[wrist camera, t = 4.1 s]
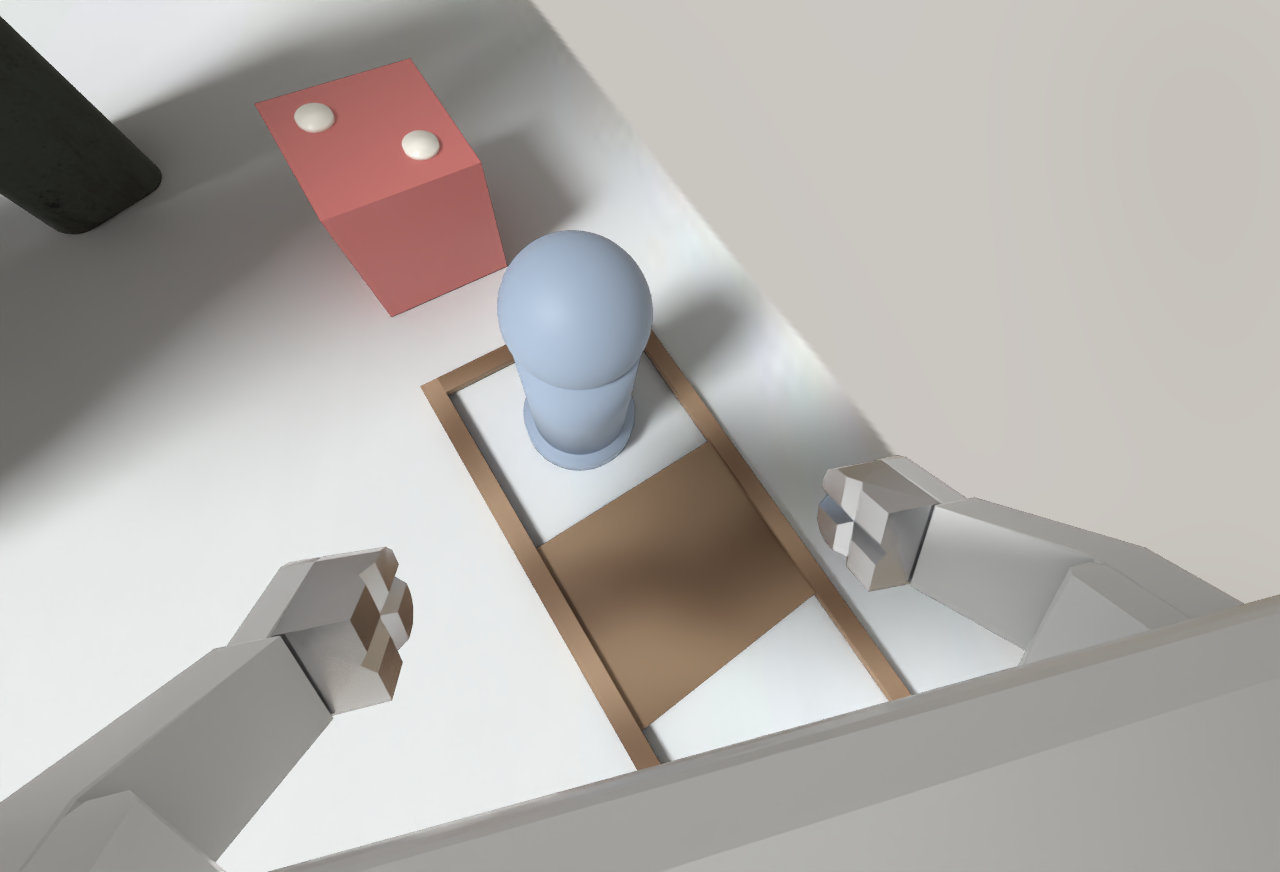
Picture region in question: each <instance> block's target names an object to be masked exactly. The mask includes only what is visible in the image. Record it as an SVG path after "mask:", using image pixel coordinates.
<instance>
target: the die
mask: <svg viewBox="0 0 1280 872" xmlns="http://www.w3.org/2000/svg"><path fill="white" fill-rule="evenodd" d="M255 106H256V108H257V109H258V111H259V113H260V115H261V117H262V118H263V120H264V122H265V124H266V125H267V127H268V129H269V131H270V133H271V134H272V136H273V138H274V140H275V141H276V143H277V145H278V147H279V149H280V150H281V152H282V154H283V156H284V157H285V159H286V161H287V163H288V165H289V166H290V168H291V170H292V172H293V173H294V175H295V177H296V179H297V181H298V182H299V184H300V186H301V188H302V189H303V191H304V193H305V195H306V197H307V198H308V200H309V202H310V204H311V205H312V207H313V209H314V211H315V213H316V214H317V216H318V218H319V220H320V222H321V223H322V224H323V226H324V227H325V228H326V230H327V231H328V232H329V234H330V235H331V236H332V238H333V239H334V240H335V242H336V243H337V244H338V246H339V247H340V248H341V250H342V251H343V252H344V254H345V255H346V257H347V258H348V259H349V261H350V262H351V263H352V265H353V266H354V267H355V269H356V270H357V271H358V273H359V274H360V275H361V277H362V278H363V279H364V281H365V282H366V283H367V285H368V286H369V287H370V289H371V290H372V291H373V293H374V294H375V296H376V297H377V298H378V300H379V301H380V302H381V304H382V305H383V306H384V308H385V309H386V310H387V312H388V313H389V314H390V316H391V317H393V316H395V315H397V314H400V313H402V312H404V311H406V310H409V309H411V308H413V307H415V306H418V305H420V304H422V303H425V302H427V301H429V300H431V299H434V298H436V297H438V296H441V295H443V294H445V293H447V292H450V291H452V290H454V289H456V288H459V287H461V286H463V285H466V284H468V283H470V282H472V281H475V280H477V279H479V278H482V277H484V276H486V275H488V274H491V273H493V272H495V271H497V270H500V269H502V268H504V267H507V263H506V259H505V255H504V251H503V247H502V243H501V239H500V236H499V232H498V228H497V224H496V220H495V216H494V212H493V208H492V204H491V200H490V196H489V192H488V188H487V184H486V180H485V176H484V172H483V168H482V164H481V162H480V160H479V159H478V157H477V156H476V154H475V153H474V151H473V150H472V148H471V147H470V145H469V144H468V142H467V141H466V139H465V138H464V137H463V135H462V134H461V132H460V131H459V129H458V128H457V126H456V125H455V123H454V122H453V120H452V119H451V117H450V116H449V114H448V113H447V112H446V110H445V109H444V107H443V106H442V104H441V103H440V101H439V100H438V98H437V97H436V95H435V94H434V92H433V91H432V89H431V88H430V86H429V85H428V84H427V82H426V81H425V79H424V78H423V76H422V75H421V73H420V72H419V70H418V69H417V67H416V66H415V64H414V63H413V61H412V60H411V59H410V58H409V59H406V60H403V61H399V62H396V63H392V64H389V65H385V66H382V67H379V68H375V69H372V70H368V71H365V72H361V73H358V74H355V75H351V76H348V77H344V78H341V79H338V80H334V81H331V82H327V83H324V84H320V85H317V86H314V87H310V88H307V89H303V90H300V91H297V92H293V93H290V94H286V95H283V96H279V97H276V98H273V99H269V100H266V101H262V102H259V103H255Z"/></svg>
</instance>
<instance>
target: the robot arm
mask: <svg viewBox="0 0 1280 872" xmlns="http://www.w3.org/2000/svg"><path fill="white" fill-rule="evenodd" d="M822 488H823V489H824V491H825V492H826V493H827V496H826V497H825V498H824V499H823V501H822V502H821V503H820V504H819V509H818V517H817V519H818V524H819V528H820V532H821V534H822V536H823V538H824V540H825V542H826V543H827V544H828V545H829V547H830V548H831V549H832V550H833V551H835V552H837V553H840V554H842V555H844V556H846V557H847V564H846V566H847V568H848V569H849V570H850V571H851V572H852V573H853V574H854V576H855V577H856V578H857V579H858V580H859V581H860V582H861V584H862V585H863V586H864V587H865V588H866V589H867V590H868V592H870V591H875V590H880V589H885V588H890V587H895V586H900V585H905V584H910V583H911V584H910V586H911V587H913V588H915V589H917V590H918V591H920V592H922V593H924V594H925V595H927V596H929V597H931V598H933V599H934V600H936V601H938V602H940V603H942V604H943V605H945V606H947V607H949V608H950V609H952V610H954V611H956V612H958V613H959V614H961V615H963V616H965V617H967V618H968V619H970V620H972V621H974V622H975V623H977V624H979V625H981V626H983V627H984V628H986V629H988V630H990V631H992V632H993V633H995V634H997V635H999V636H1000V637H1002V638H1004V639H1006V640H1008V641H1009V642H1011V643H1013V644H1015V645H1016V646H1018V647H1020V648H1022V649H1024V650H1025V651H1026V652H1025V653H1024V655H1023V657H1022V659H1021V661H1020V663H1019V665H1018V666H1017V667H1013V668H1009V669H1006V670H1002V671H999V672H995V673H991V674H988V675H984V676H980V677H977V678H973V679H969V680H966V681H962V682H958V683H955V684H951V685H947V686H944V687H940V688H936V689H933V690H929V691H926V692H922V693H918V694H915V695H911V696H907V697H904V698H900V699H896V700H893V701H889V702H885V703H882V704H878V705H874V706H871V707H867V708H864V709H860V710H856V711H853V712H849V713H845V714H842V715H838V716H834V717H831V718H827V719H823V720H820V721H816V722H812V723H809V724H805V725H802V726H798V727H794V728H791V729H787V730H783V731H780V732H776V733H772V734H769V735H765V736H761V737H758V738H754V739H750V740H747V741H743V742H740V743H736V744H732V745H729V746H725V747H721V748H718V749H714V750H710V751H707V752H703V753H700V754H696V755H692V756H689V757H685V758H681V759H678V760H674V761H670V762H667V763H663V764H660V765H656V766H652V767H649V768H645V769H641V770H638V771H634V772H630V773H627V774H623V775H620V776H616V777H612V778H609V779H605V780H601V781H598V782H594V783H590V784H587V785H583V786H580V787H576V788H572V789H569V790H565V791H561V792H558V793H554V794H550V795H547V796H543V797H539V798H536V799H532V800H528V801H525V802H521V803H517V804H514V805H510V806H507V807H503V808H499V809H496V810H492V811H488V812H485V813H481V814H477V815H474V816H470V817H466V818H463V819H459V820H455V821H452V822H448V823H444V824H441V825H437V826H433V827H430V828H426V829H422V830H419V831H415V832H412V833H408V834H404V835H401V836H397V837H393V838H390V839H386V840H382V841H379V842H375V843H371V844H368V845H364V846H360V847H357V848H353V849H349V850H346V851H342V852H338V853H335V854H331V855H327V856H324V857H320V858H317V859H313V860H309V861H306V862H302V863H298V864H295V865H291V866H287V867H284V868H280V869H276V870H273V871H269V872H1280V595H1276V596H1272V597H1269V598H1265V599H1261V600H1258V601H1254V602H1250V603H1247V604H1244V603H1242V602H1240V601H1239V600H1237V599H1235V598H1233V597H1231V596H1230V595H1228V594H1226V593H1224V592H1223V591H1221V590H1219V589H1217V588H1216V587H1214V586H1212V585H1210V584H1209V583H1207V582H1205V581H1203V580H1202V579H1200V578H1198V577H1196V576H1194V575H1193V574H1191V573H1189V572H1187V571H1186V570H1184V569H1182V568H1180V567H1179V566H1177V565H1175V564H1173V563H1172V562H1170V561H1168V560H1166V559H1165V558H1163V557H1161V556H1159V555H1158V554H1155V553H1154V552H1152V551H1150V550H1149V549H1147V548H1145V547H1141V546H1138V545H1134V544H1131V543H1128V542H1124V541H1121V540H1117V539H1114V538H1111V537H1107V536H1104V535H1101V534H1097V533H1094V532H1090V531H1087V530H1084V529H1080V528H1077V527H1073V526H1070V525H1067V524H1063V523H1060V522H1056V521H1053V520H1050V519H1046V518H1043V517H1039V516H1036V515H1033V514H1029V513H1026V512H1022V511H1019V510H1015V509H1012V508H1009V507H1005V506H1002V505H999V504H995V503H991V502H988V501H985V500H982V499H978V498H970V499H967V498H965V497H964V496H963V495H961V494H960V493H958V492H957V491H955V490H954V489H952V488H951V487H949V486H948V485H946V484H945V483H943V482H942V481H940V480H939V479H938V478H936V477H935V476H933V475H932V474H930V473H929V472H927V471H926V470H924V469H923V468H921V467H920V466H918V465H917V464H915V463H914V462H913V461H911V460H910V459H908V458H907V457H903V456H899V455H895V456H891V457H886V458H881V459H876V460H874V461H870V462H865V463H859V464H854V465H848V466H843V467H837V468H832V469H828V470H827V472H826V473H825V475H824V478H823V483H822ZM398 565H399V564H398V562H397V560H396V557H395V555H394V553H393V551H392V550H391V549H389V548H387V547H381V548H374V549H368V550H361V551H355V552H349V553H342V554H336V555H329V556H323V557H321V558H312V559H306V560H300V561H294V562H289V563H288V564H286V565H284V566H282V567H280V569H279V570H278V572H277V573H276V575H275V576H274V578H273V579H272V580H271V582H270V583H269V585H268V586H267V588H266V589H265V591H264V592H263V594H262V595H261V597H260V598H259V599H258V601H257V602H256V604H255V605H254V607H253V608H252V610H251V611H250V613H249V614H248V616H247V617H246V618H245V620H244V621H243V623H242V624H241V626H240V627H239V629H238V630H237V632H236V633H235V635H234V636H233V638H232V639H231V640H230V642H229V643H228V645H227V646H225V647H221V648H216V649H213V650H212V651H211V652H209V653H208V654H206V655H205V656H204V657H202V658H201V659H199V660H198V661H197V662H195V663H194V664H192V665H191V666H190V667H188V668H187V669H186V670H184V671H183V672H181V673H180V674H179V675H177V676H176V677H174V678H173V679H172V680H170V681H169V682H167V683H166V684H165V685H163V686H162V687H160V688H159V689H158V690H156V691H155V692H154V693H152V694H151V695H149V696H148V697H147V698H145V699H144V700H142V701H141V702H140V703H138V704H137V705H135V706H134V707H133V708H131V709H130V710H128V711H127V712H126V713H124V714H123V715H122V716H120V717H119V718H117V719H116V720H115V721H113V722H112V723H110V724H109V725H108V726H106V727H105V728H103V729H102V730H101V731H99V732H98V733H96V734H95V735H94V736H92V737H91V738H90V739H88V740H87V741H85V742H84V743H83V744H81V745H80V746H78V747H77V748H76V749H74V750H73V751H71V752H70V753H69V754H67V755H66V756H64V757H63V758H62V759H60V760H59V761H58V762H56V763H55V764H53V765H52V766H51V767H49V768H48V769H46V770H45V771H44V772H42V773H41V774H39V775H38V776H37V777H35V778H34V779H32V780H31V781H30V782H28V783H27V784H26V785H24V786H23V787H21V788H20V789H19V790H17V791H16V792H14V793H13V794H12V795H10V796H9V797H7V798H6V799H5V800H3V801H2V802H0V872H226V871H225V870H223V869H222V868H221V867H220V866H219V865H217V864H216V863H215V862H216V861H217V860H218V858H219V857H220V856H221V855H222V853H223V852H224V851H225V850H226V849H227V847H228V846H229V845H230V844H231V843H232V841H233V840H234V839H235V838H236V836H237V835H238V834H239V833H240V832H241V830H242V829H243V828H244V827H245V825H246V824H247V823H248V822H249V821H250V819H251V818H252V817H253V816H254V814H255V813H256V812H257V811H258V810H259V808H260V807H261V806H262V805H263V804H264V802H265V801H266V800H267V799H268V797H269V796H270V795H271V794H272V793H273V791H274V790H275V789H276V788H277V786H278V785H279V784H280V783H281V782H282V780H283V779H284V778H285V777H286V776H287V774H288V773H289V772H290V771H291V769H292V768H293V767H294V766H295V765H296V763H297V762H298V761H299V760H300V758H301V757H302V756H303V755H304V754H305V752H306V751H307V750H308V749H309V747H310V746H311V745H312V744H313V743H314V741H315V740H316V739H317V738H318V737H319V735H320V734H321V733H322V732H323V730H324V729H325V728H326V727H327V726H328V724H329V723H330V722H331V721H332V719H333V717H332V716H333V715H337V714H341V713H344V712H348V711H352V710H356V709H360V708H364V707H368V706H372V705H376V704H380V703H384V702H387V701H391V700H392V698H393V695H394V691H395V688H396V684H397V681H398V677H399V673H400V670H401V666H402V663H403V662H402V660H401V657H400V655H399V653H398V650H399V649H400V648H401V647H402V646H403V644H404V643H405V642H406V641H407V640H408V639H409V637H410V633H411V629H412V625H413V603H412V598H411V593H410V591H409V588H408V586H407V583H405V582H403V581H402V580H400V579H398V578H396V577H395V574H396V571H397V568H398Z"/></svg>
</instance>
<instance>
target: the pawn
mask: <svg viewBox="0 0 1280 872" xmlns="http://www.w3.org/2000/svg"><path fill="white" fill-rule="evenodd" d="M497 315H498V321H499V326H500V330H501V333H502V336H503V339H504V341H505V343H506V345H507V347H508V349H509V351H510V352H511V354H512V355H513V358H514V361H515V364H516V367H517V370H518V373H519V376H520V379H521V382H522V385H523V388H524V391H525V394H526V399H525V403H524V421H525V425H526V428H527V431H528V434H529V436H530V439H531V441H532V443H533V445H534V446H535V448H536V449H537V451H538V452H539V453H540V454H541V455H542V456H543V457H544V458H545V459H547V460H548V461H550V462H551V463H553V464H555V465H557V466H559V467H562V468H565V469H570V470H580V471H581V470H590V469H595V468H597V467H600V466H603V465H605V464H607V463H608V462H610V461H611V460H613V459H614V458H615V457H616V456H617V455H618V454H619V453H620V452H621V451H622V450H623V448H624V447H625V445H626V444H627V441H628V439H629V437H630V434H631V430H632V427H633V424H634V418H635V407H634V401H633V397H632V395H631V394H632V390H633V386H634V382H635V378H636V374H637V370H638V366H639V362H640V358H641V354H642V352H643V350H644V349H645V347H646V344H647V342H648V339H649V336H650V333H651V327H652V320H653V307H652V299H651V294H650V290H649V287H648V284H647V281H646V279H645V277H644V275H643V273H642V271H641V270H640V268H639V267H638V265H637V263H636V262H635V261H634V260H633V258H632V257H631V256H630V255H629V254H628V253H627V252H626V251H625V250H623V249H622V248H621V247H620V246H618V245H617V244H616V243H614V242H612V241H611V240H609V239H607V238H605V237H603V236H600V235H597V234H594V233H590V232H585V231H577V230H567V231H559V232H554V233H550V234H547V235H544V236H542V237H540V238H538V239H536V240H534V241H533V242H531V243H530V244H528V245H527V246H526V247H525V248H524V249H522V250H521V251H520V252H519V253H518V254H517V255H516V256H515V258H514V259H513V260H512V262H511V263H510V265H509V266H508V268H507V270H506V272H505V274H504V276H503V279H502V282H501V285H500V288H499V293H498V301H497Z"/></svg>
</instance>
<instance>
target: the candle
mask: <svg viewBox="0 0 1280 872" xmlns="http://www.w3.org/2000/svg"><path fill="white" fill-rule="evenodd" d="M160 181H161V172H160V170H159V168H158V167H157V166H156V165H155V164H154V163H153V162H152V161H151V160H150V159H149V158H148V157H147V156H145V155H144V154H143V153H142V152H141V151H140V150H139V149H138V148H137V147H136V146H135V145H134V144H133V143H132V142H131V141H130V140H129V139H128V138H127V137H126V136H125V135H124V134H123V133H122V132H120V131H119V130H118V129H117V128H116V127H115V126H114V125H113V124H112V123H111V122H110V121H109V120H108V119H107V118H106V117H105V116H104V115H103V114H102V113H101V112H100V111H99V110H98V109H97V108H95V107H94V106H93V105H92V104H91V103H90V102H89V101H88V100H87V99H86V98H85V97H84V96H83V95H82V94H81V93H80V92H79V91H78V90H77V89H76V88H75V87H74V86H73V85H72V84H71V83H69V82H68V81H67V80H66V79H65V78H64V77H63V76H62V75H61V74H60V73H59V72H58V71H57V70H56V69H55V68H54V67H53V66H52V65H51V64H50V63H49V62H48V61H47V60H46V59H44V58H43V57H42V56H41V55H40V54H39V53H38V52H37V51H36V50H35V49H34V48H33V47H32V46H31V45H30V44H29V43H28V42H27V41H26V40H25V39H24V38H23V37H22V36H21V35H19V34H18V33H17V32H16V31H15V30H14V29H13V28H12V27H11V26H10V25H9V24H8V23H7V22H6V21H5V20H4V19H3V18H2V17H1V16H0V194H2V195H3V196H5V197H6V198H8V199H9V200H11V201H12V202H14V203H15V204H17V205H19V206H20V207H22V208H23V209H25V210H26V211H28V212H29V213H31V214H32V215H34V216H35V217H37V218H38V219H40V220H41V221H43V222H44V223H46V224H47V225H49V226H50V227H52V228H54V229H55V230H57V231H59V232H63V233H71V234H75V233H82V232H86V231H89V230H91V229H93V228H95V227H97V226H98V225H100V224H102V223H103V222H105V221H106V220H108V219H110V218H111V217H113V216H114V215H116V214H117V213H119V212H121V211H122V210H124V209H125V208H127V207H129V206H130V205H132V204H133V203H135V202H137V201H138V200H140V199H141V198H143V197H144V196H146V195H148V194H149V193H151V192H152V191H153V190H155V189H156V187H157V186H158V185H159V183H160Z"/></svg>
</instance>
